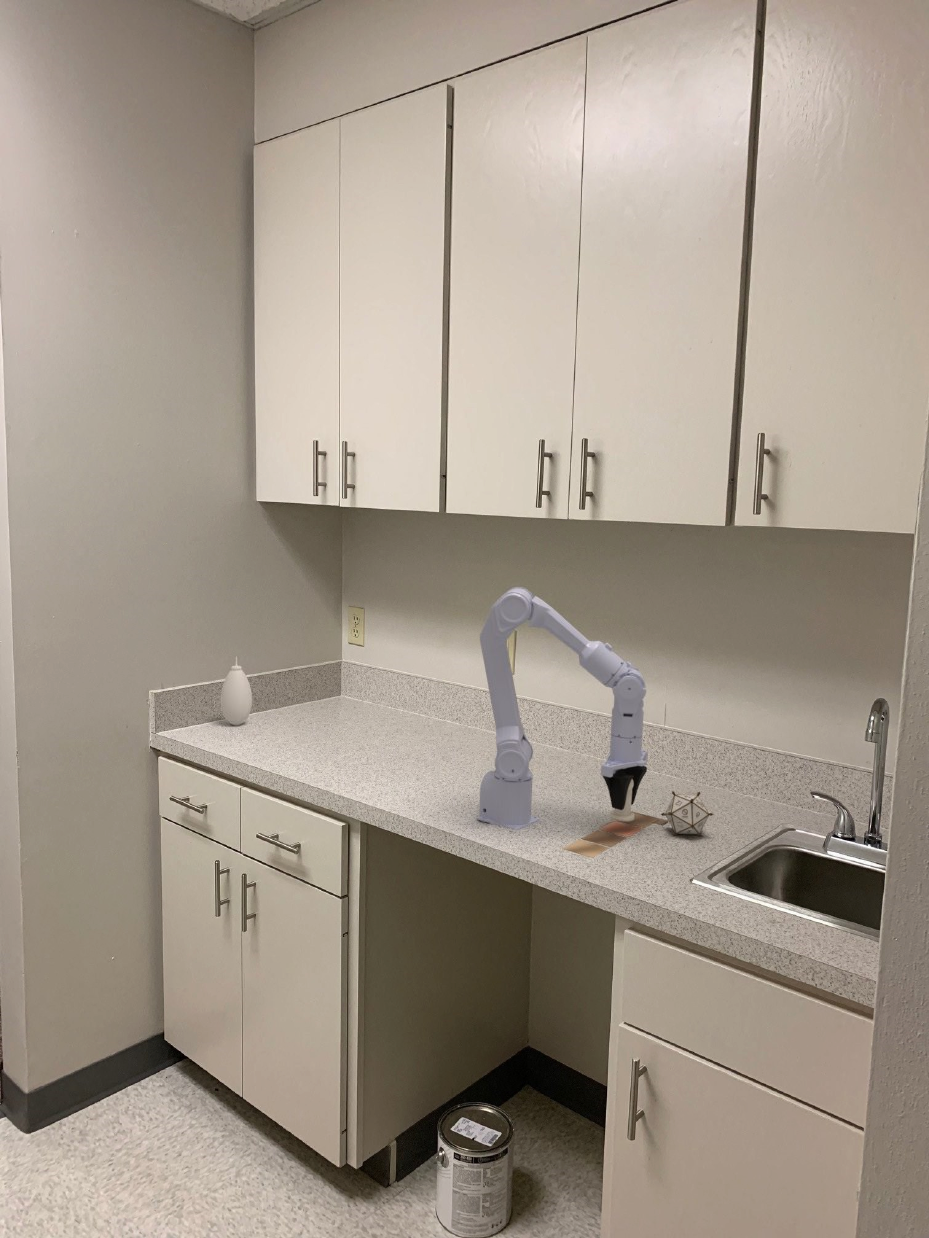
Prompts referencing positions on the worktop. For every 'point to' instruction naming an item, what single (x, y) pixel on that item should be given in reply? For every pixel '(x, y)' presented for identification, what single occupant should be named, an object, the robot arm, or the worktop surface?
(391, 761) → the worktop surface
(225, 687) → the air blower bulb
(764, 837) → the worktop surface
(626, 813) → the pawn
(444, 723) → the worktop surface
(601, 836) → the board
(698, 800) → the game die
